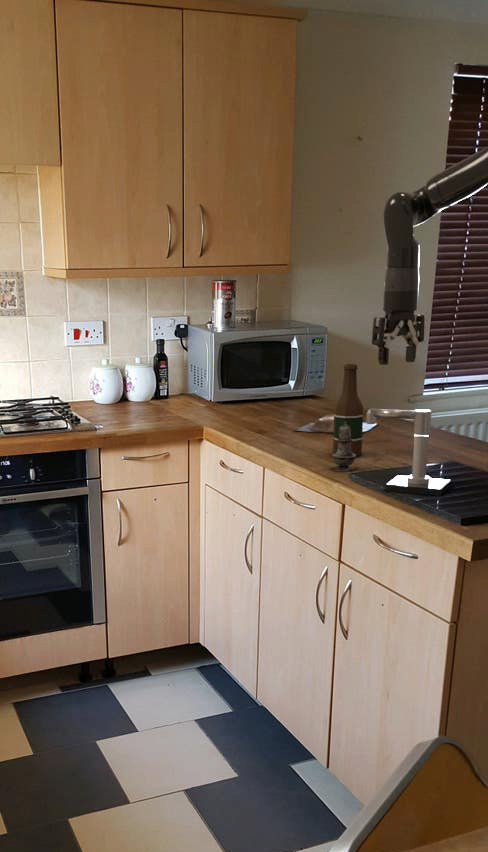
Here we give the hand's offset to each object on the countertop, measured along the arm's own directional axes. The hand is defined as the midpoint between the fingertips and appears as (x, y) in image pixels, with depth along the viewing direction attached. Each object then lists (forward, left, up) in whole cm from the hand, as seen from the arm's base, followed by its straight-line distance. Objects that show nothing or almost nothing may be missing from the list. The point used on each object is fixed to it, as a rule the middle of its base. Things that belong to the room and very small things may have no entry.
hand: (396, 363), depth 201 cm
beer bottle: (+18, -23, -27) cm, 39 cm away
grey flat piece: (+35, -65, -27) cm, 78 cm away
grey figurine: (+13, -5, -27) cm, 30 cm away
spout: (-3, +9, -14) cm, 17 cm away
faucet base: (-9, +9, -27) cm, 30 cm away
